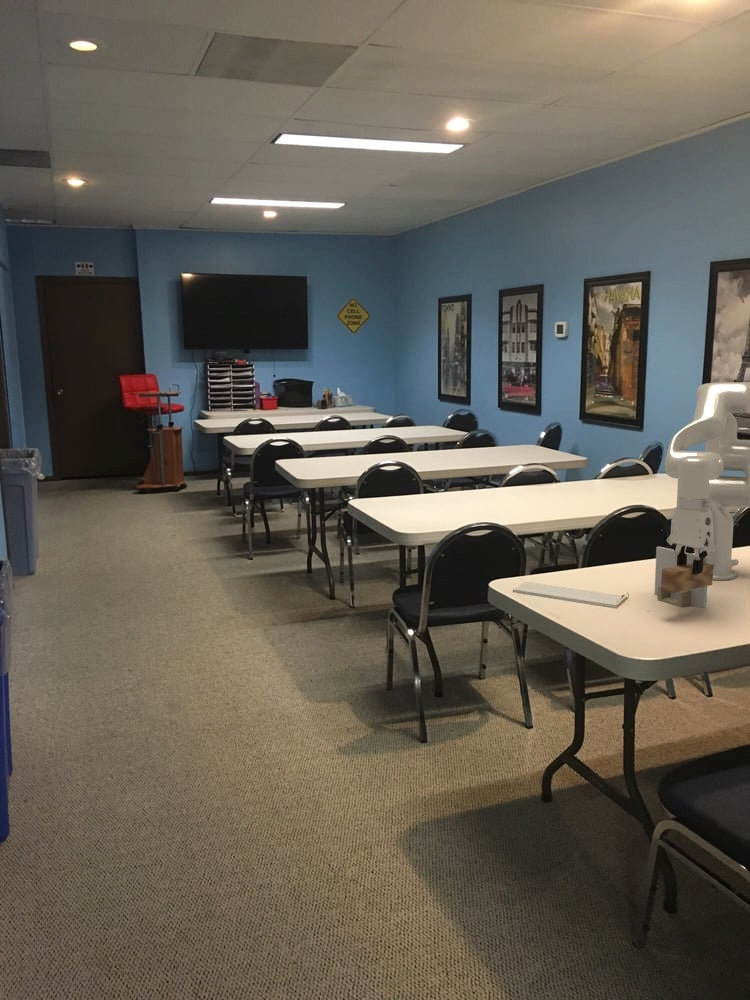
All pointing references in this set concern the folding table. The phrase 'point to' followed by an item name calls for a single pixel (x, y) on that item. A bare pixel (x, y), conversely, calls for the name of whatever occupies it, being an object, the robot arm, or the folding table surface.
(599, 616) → the folding table surface
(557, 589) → the grey flat board
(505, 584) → the folding table surface
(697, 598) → the panel
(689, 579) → the rail
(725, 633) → the folding table surface
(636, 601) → the folding table surface
